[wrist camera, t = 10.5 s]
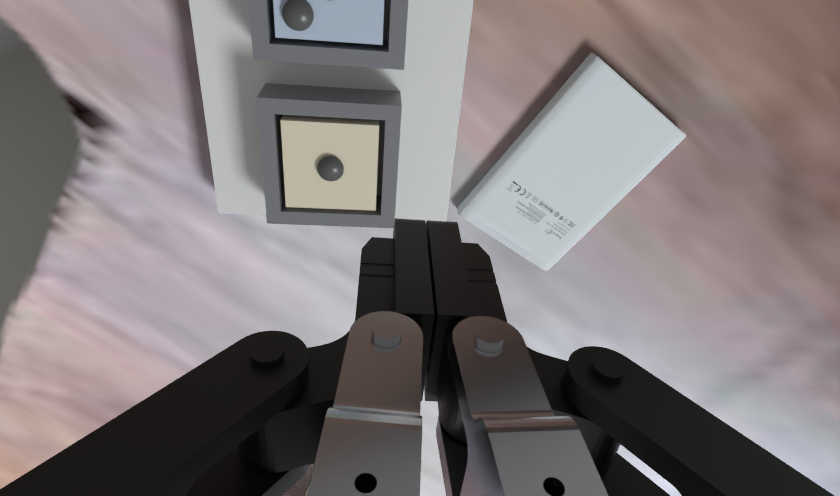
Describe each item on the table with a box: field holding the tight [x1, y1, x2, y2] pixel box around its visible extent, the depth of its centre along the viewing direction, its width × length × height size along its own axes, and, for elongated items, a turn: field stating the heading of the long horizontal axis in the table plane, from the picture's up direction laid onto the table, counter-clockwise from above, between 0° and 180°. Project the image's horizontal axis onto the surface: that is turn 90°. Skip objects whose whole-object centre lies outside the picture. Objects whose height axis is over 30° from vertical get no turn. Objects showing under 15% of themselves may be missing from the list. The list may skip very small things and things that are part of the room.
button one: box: [280, 115, 379, 211], centre depth 30 cm, size 5×5×3 cm
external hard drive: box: [457, 52, 686, 271], centre depth 35 cm, size 2×8×12 cm
